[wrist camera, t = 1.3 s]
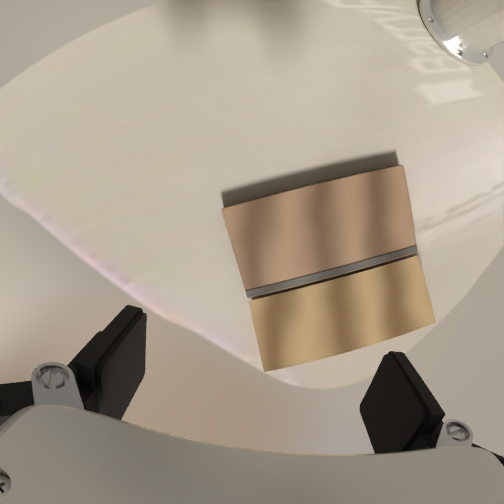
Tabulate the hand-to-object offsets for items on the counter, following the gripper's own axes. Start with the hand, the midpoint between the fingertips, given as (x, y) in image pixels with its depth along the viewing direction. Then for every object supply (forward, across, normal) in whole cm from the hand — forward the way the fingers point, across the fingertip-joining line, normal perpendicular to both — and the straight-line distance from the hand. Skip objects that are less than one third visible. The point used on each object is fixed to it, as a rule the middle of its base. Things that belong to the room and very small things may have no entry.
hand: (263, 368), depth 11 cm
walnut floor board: (+23, -6, -2) cm, 24 cm away
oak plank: (+21, -11, +6) cm, 24 cm away
